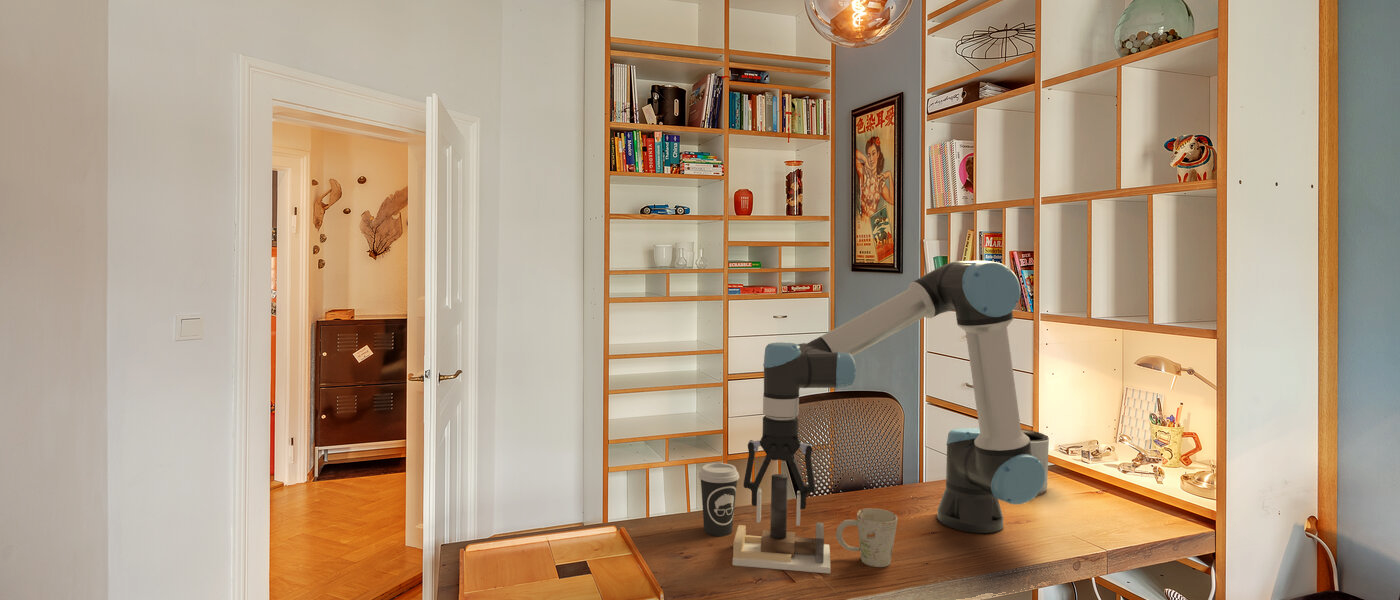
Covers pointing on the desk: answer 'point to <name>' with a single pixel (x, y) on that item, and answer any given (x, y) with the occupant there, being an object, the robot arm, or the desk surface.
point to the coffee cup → (718, 497)
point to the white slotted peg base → (774, 556)
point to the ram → (777, 535)
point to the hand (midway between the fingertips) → (778, 521)
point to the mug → (872, 535)
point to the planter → (1039, 451)
